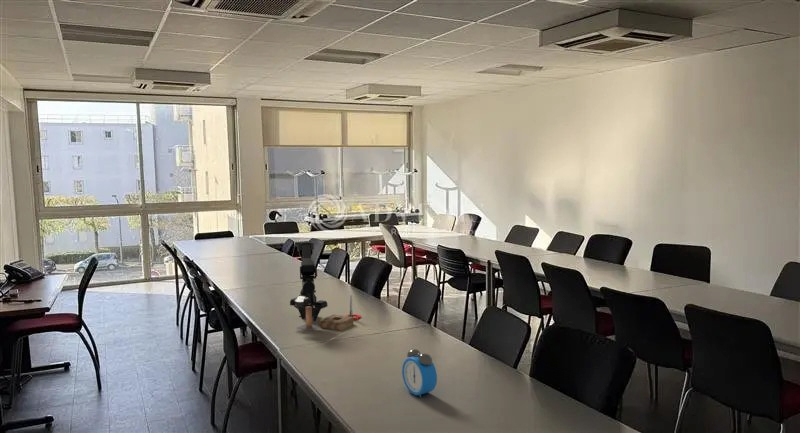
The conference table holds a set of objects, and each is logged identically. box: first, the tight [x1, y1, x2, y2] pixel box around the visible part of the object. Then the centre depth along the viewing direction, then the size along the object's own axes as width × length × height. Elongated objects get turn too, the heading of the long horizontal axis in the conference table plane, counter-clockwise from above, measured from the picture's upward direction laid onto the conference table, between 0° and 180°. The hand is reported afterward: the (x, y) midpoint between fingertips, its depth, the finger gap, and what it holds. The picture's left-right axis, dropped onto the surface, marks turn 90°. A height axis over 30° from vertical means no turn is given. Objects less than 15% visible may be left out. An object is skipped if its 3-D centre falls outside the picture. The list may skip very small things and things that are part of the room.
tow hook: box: [345, 294, 362, 321], centre depth 300 cm, size 8×13×9 cm
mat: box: [296, 323, 320, 332], centre depth 283 cm, size 10×8×1 cm
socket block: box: [319, 313, 354, 331], centre depth 285 cm, size 12×12×4 cm
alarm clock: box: [401, 348, 438, 398], centre depth 201 cm, size 13×6×15 cm, turn 35°
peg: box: [305, 307, 313, 328], centre depth 282 cm, size 3×3×10 cm
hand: (308, 320), depth 282 cm, fingers open, 7 cm apart
